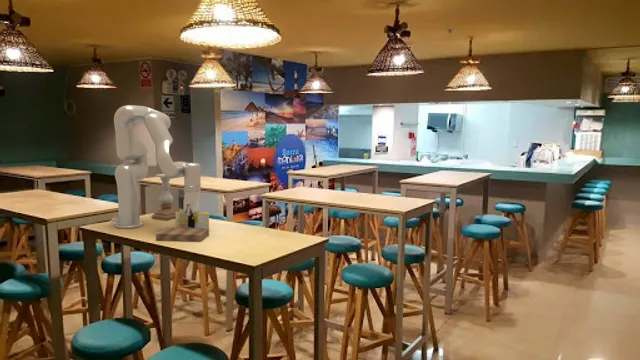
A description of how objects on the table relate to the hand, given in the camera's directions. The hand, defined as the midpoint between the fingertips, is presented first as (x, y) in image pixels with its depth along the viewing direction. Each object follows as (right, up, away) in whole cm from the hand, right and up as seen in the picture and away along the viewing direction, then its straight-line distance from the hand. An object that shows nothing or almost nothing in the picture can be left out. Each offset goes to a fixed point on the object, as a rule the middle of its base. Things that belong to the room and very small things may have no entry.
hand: (192, 226), depth 221 cm
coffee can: (-7, 0, +20) cm, 21 cm away
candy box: (0, -1, 0) cm, 1 cm away
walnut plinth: (0, -4, -14) cm, 14 cm away
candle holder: (-22, +1, +30) cm, 37 cm away
